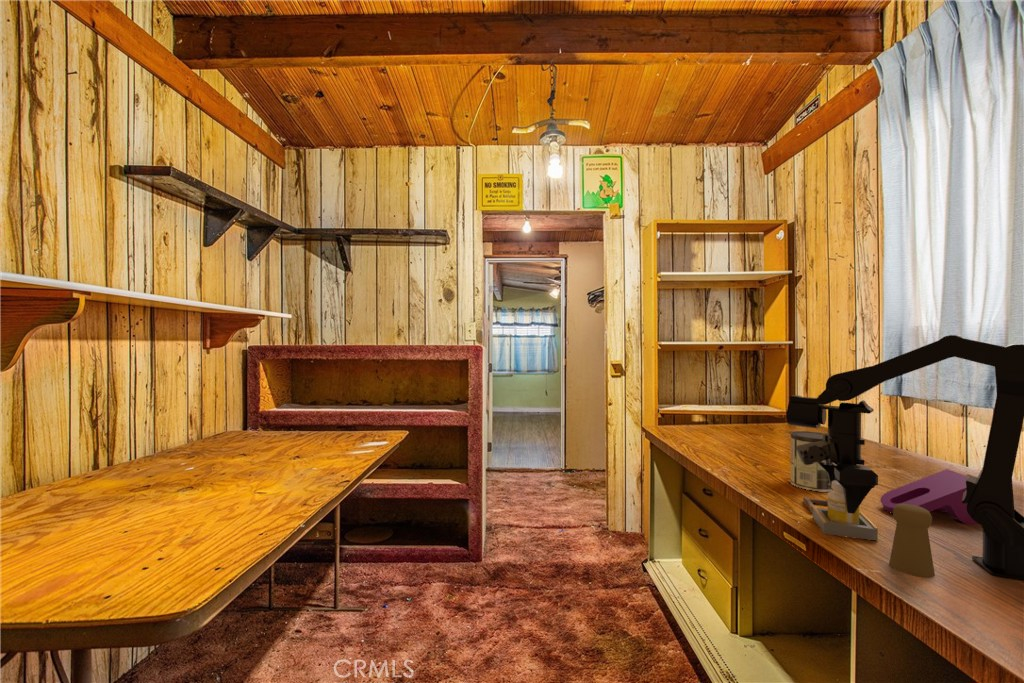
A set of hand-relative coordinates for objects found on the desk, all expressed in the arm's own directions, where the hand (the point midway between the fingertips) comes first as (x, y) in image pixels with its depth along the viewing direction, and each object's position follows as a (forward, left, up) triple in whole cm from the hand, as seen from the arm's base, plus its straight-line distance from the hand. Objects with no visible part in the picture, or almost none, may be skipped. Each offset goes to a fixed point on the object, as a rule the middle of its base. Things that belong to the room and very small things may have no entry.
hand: (843, 505), depth 95 cm
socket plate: (0, 0, -5) cm, 5 cm away
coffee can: (+30, -1, -5) cm, 30 cm away
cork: (-15, -6, -5) cm, 17 cm away
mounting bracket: (+17, -21, -6) cm, 28 cm away
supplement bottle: (0, 0, -5) cm, 5 cm away
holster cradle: (+11, 0, -5) cm, 12 cm away
